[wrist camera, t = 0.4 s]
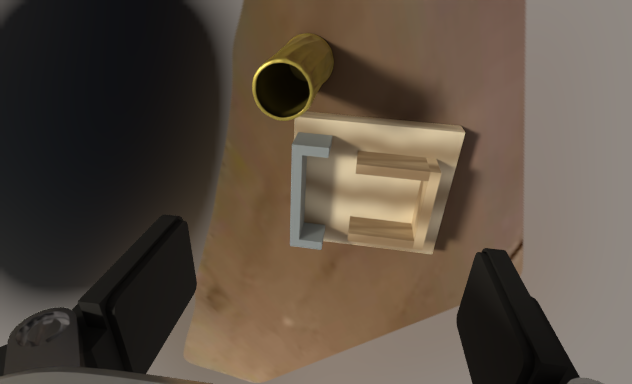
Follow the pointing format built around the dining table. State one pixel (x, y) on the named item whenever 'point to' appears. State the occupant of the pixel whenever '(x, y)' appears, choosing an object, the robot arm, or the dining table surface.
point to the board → (380, 179)
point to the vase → (293, 77)
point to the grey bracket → (301, 148)
